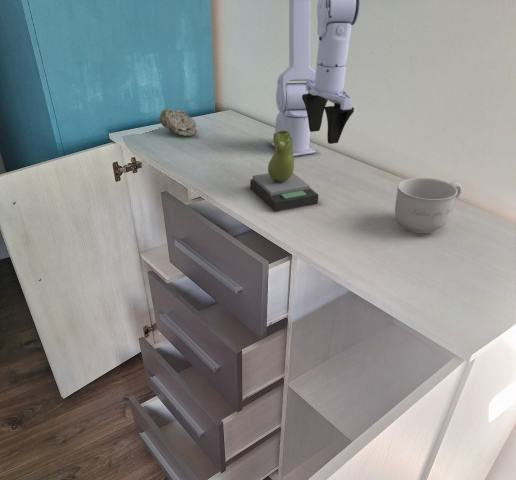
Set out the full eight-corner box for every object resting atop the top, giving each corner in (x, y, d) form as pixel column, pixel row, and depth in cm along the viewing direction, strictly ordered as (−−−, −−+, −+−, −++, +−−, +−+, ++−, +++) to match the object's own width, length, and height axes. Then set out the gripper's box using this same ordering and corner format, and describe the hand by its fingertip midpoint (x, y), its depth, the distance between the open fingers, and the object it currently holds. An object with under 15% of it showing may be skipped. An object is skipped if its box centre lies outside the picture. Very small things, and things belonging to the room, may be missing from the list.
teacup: (406, 242, 93) (417, 201, 88) (380, 216, 101) (388, 177, 96) (471, 234, 97) (485, 194, 91) (440, 209, 104) (451, 171, 99)
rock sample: (178, 127, 127) (171, 95, 128) (160, 142, 132) (154, 112, 133) (209, 137, 134) (202, 107, 135) (191, 151, 139) (184, 122, 140)
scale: (250, 188, 110) (250, 175, 108) (290, 181, 113) (291, 169, 111) (274, 211, 101) (275, 198, 100) (317, 203, 105) (319, 190, 103)
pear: (295, 185, 105) (299, 135, 98) (269, 186, 104) (272, 136, 97) (289, 174, 109) (293, 126, 102) (265, 175, 108) (267, 127, 102)
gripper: (295, 56, 100) (290, 127, 109) (333, 74, 90) (324, 151, 99) (326, 54, 102) (318, 124, 111) (366, 71, 93) (354, 146, 101)
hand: (323, 136), depth 105 cm, fingers open, 7 cm apart
